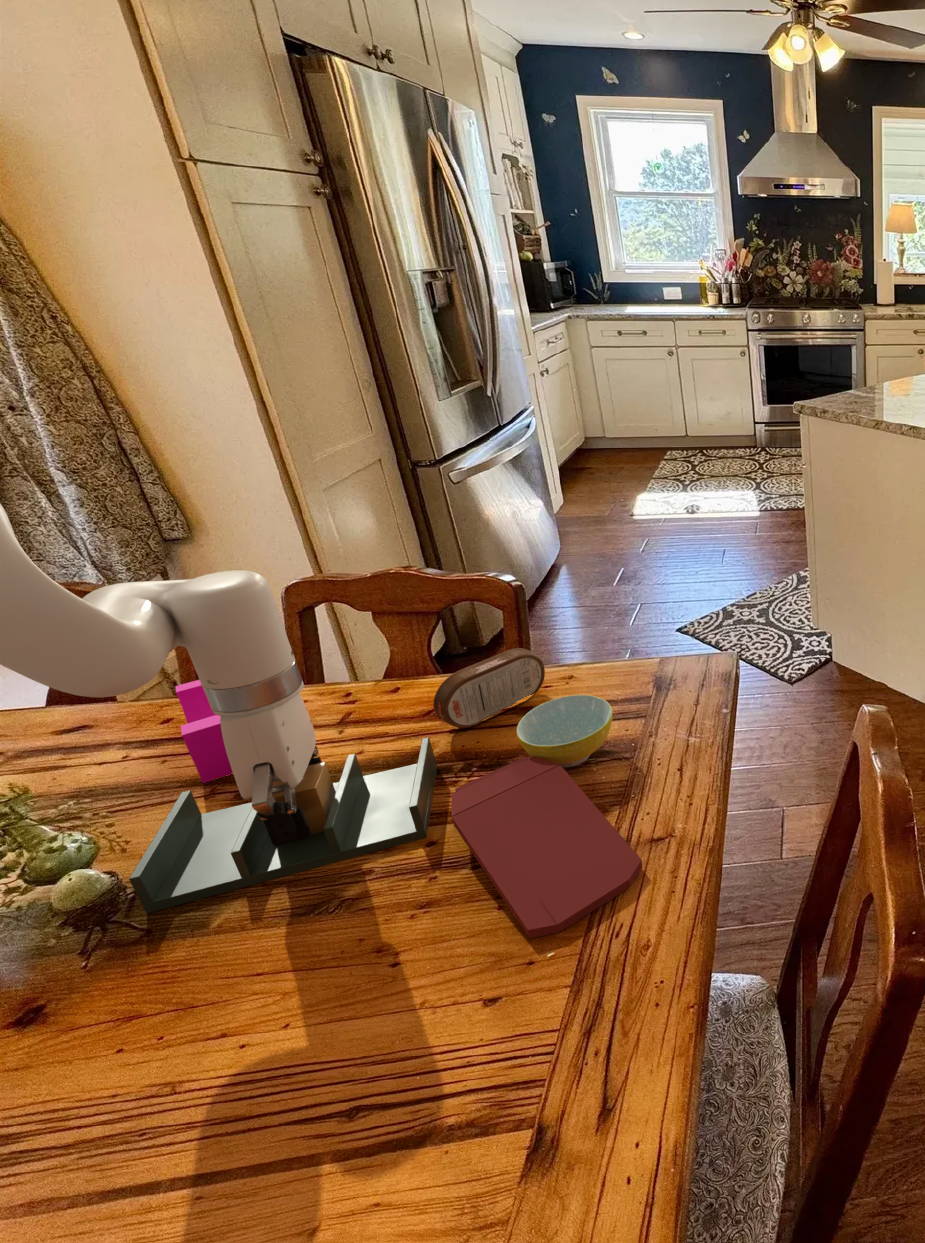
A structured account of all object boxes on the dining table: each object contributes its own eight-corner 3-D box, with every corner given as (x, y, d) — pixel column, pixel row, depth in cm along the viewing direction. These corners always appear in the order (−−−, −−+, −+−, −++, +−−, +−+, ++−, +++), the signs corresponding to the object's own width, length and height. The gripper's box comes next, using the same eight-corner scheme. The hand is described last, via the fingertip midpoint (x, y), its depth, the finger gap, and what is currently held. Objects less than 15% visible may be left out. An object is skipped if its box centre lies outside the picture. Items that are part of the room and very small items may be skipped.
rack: (146, 914, 74) (128, 879, 73) (196, 824, 86) (181, 792, 84) (426, 837, 85) (417, 805, 83) (437, 766, 96) (429, 736, 94)
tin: (540, 685, 114) (531, 637, 111) (552, 691, 113) (543, 643, 110) (439, 733, 103) (425, 682, 99) (451, 741, 101) (437, 689, 98)
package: (275, 843, 82) (258, 801, 79) (287, 815, 86) (271, 773, 84) (331, 829, 84) (315, 787, 82) (339, 802, 88) (325, 761, 86)
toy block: (267, 762, 96) (249, 714, 93) (203, 784, 92) (181, 735, 89) (253, 714, 106) (236, 669, 103) (195, 732, 102) (175, 686, 99)
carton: (650, 896, 82) (545, 771, 95) (648, 867, 80) (541, 742, 93) (539, 969, 73) (441, 820, 87) (534, 939, 71) (434, 790, 84)
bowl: (587, 790, 92) (579, 750, 90) (505, 779, 94) (495, 739, 92) (634, 736, 103) (628, 699, 100) (559, 727, 105) (552, 690, 102)
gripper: (235, 655, 83) (281, 777, 90) (176, 740, 69) (237, 878, 75) (317, 641, 86) (356, 760, 93) (277, 720, 72) (327, 854, 79)
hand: (303, 813), depth 84 cm, fingers open, 8 cm apart
